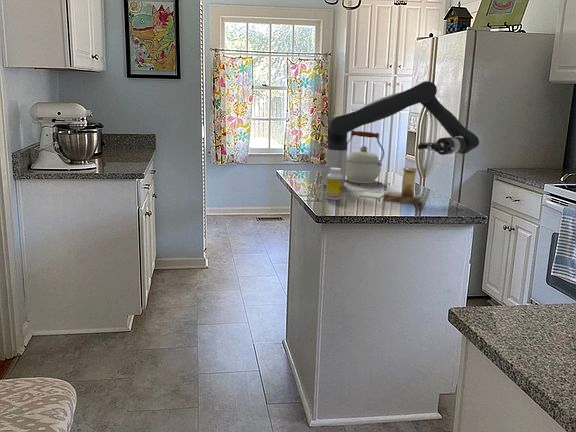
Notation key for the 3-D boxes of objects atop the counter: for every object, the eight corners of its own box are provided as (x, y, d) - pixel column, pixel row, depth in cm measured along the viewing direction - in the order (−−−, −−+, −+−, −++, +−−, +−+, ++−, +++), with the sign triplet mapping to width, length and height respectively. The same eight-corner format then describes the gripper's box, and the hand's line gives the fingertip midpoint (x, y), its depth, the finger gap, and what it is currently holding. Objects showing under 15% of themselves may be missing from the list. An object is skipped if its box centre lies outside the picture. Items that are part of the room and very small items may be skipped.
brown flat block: (383, 200, 238) (383, 194, 237) (387, 197, 245) (387, 192, 244) (417, 205, 232) (417, 199, 232) (420, 202, 239) (421, 196, 238)
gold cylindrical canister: (399, 196, 236) (401, 168, 233) (402, 194, 241) (404, 167, 238) (412, 198, 234) (415, 170, 231) (415, 195, 239) (418, 168, 236)
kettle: (388, 181, 286) (392, 132, 280) (373, 186, 270) (378, 134, 265) (344, 175, 298) (348, 128, 293) (327, 179, 283) (331, 129, 277)
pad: (359, 196, 244) (359, 194, 244) (364, 192, 252) (365, 191, 252) (379, 198, 241) (379, 197, 241) (384, 195, 249) (384, 194, 249)
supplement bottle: (340, 200, 232) (342, 170, 229) (324, 199, 233) (326, 168, 230) (342, 197, 239) (344, 168, 236) (326, 196, 240) (328, 166, 237)
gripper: (434, 135, 254) (413, 137, 244) (463, 139, 244) (442, 140, 234) (433, 152, 256) (412, 154, 246) (461, 156, 246) (440, 158, 235)
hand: (426, 148), depth 240 cm, fingers open, 8 cm apart
